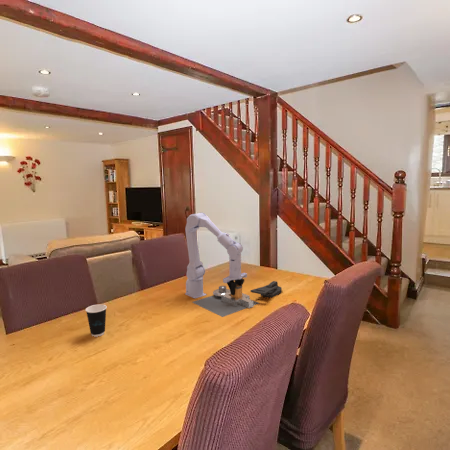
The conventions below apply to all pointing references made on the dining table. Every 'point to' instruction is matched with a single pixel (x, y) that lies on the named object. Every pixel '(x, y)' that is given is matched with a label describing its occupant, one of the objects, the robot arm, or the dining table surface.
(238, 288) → the orange grey two-tone block
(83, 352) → the dining table surface
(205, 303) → the site mat
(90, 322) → the dixie cup
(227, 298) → the scaffold node
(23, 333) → the dining table surface
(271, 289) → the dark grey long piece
